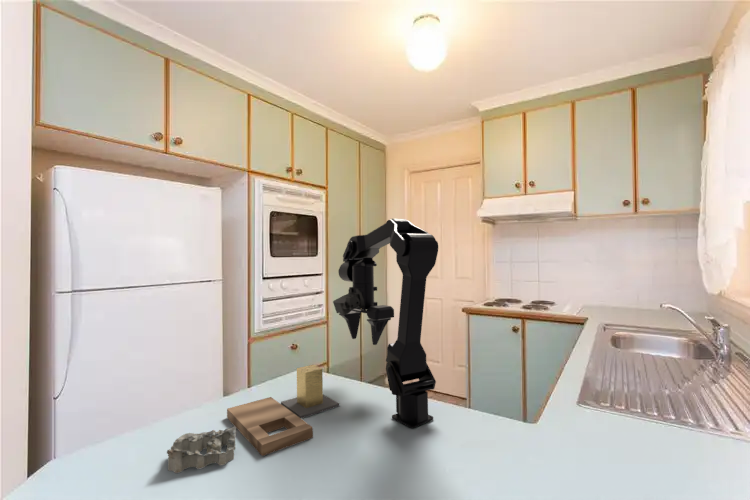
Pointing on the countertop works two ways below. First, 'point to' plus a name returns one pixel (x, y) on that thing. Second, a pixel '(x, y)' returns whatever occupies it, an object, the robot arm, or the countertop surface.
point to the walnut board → (269, 425)
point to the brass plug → (309, 386)
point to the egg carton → (191, 444)
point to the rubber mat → (305, 412)
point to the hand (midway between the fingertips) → (364, 341)
